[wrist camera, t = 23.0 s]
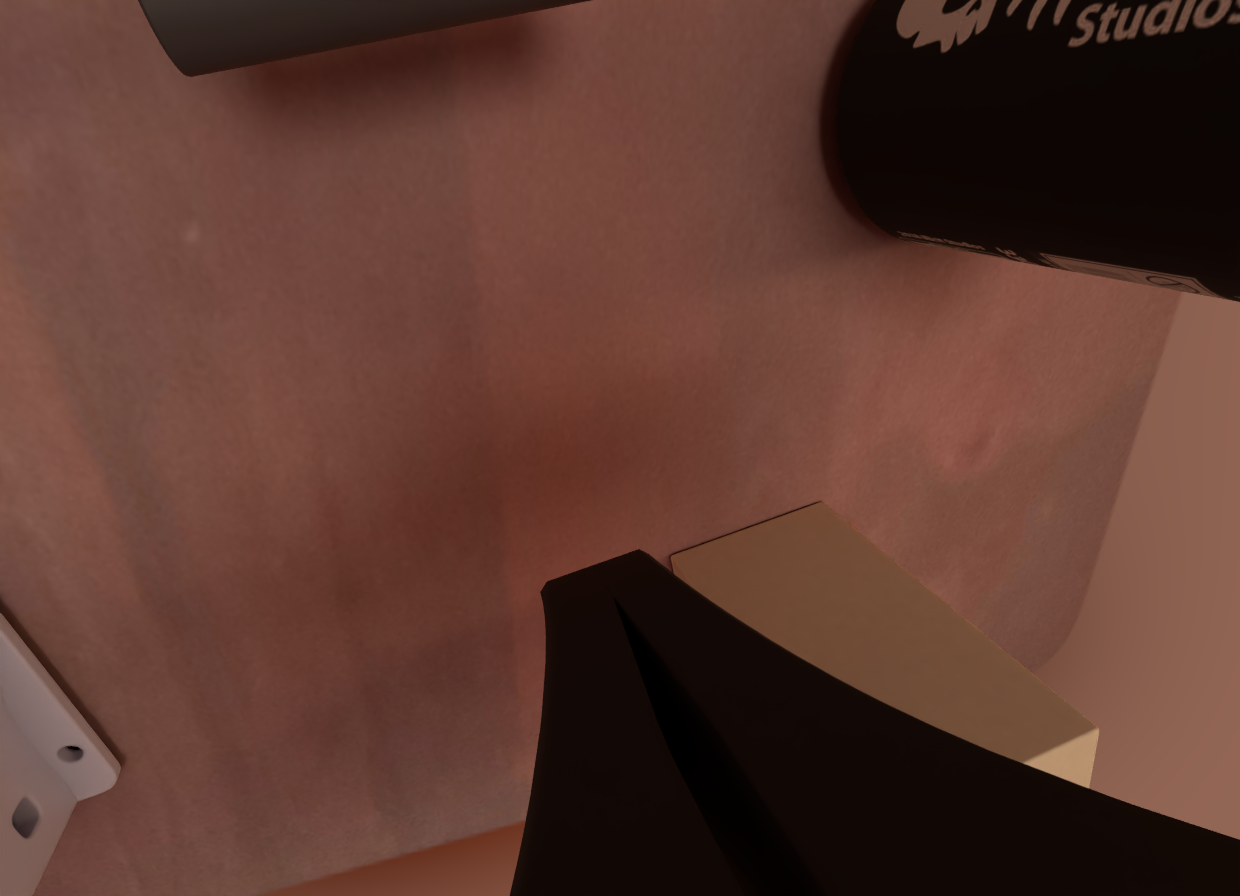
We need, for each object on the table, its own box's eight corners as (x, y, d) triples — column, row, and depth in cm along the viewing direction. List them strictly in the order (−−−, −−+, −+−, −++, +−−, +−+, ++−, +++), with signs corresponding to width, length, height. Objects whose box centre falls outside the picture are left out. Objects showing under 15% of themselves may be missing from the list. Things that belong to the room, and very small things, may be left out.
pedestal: (830, 625, 24) (1072, 886, 15) (694, 679, 23) (872, 990, 14) (822, 500, 21) (1101, 728, 13) (669, 554, 20) (865, 839, 12)
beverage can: (946, -124, 15) (2153, -713, 5) (1078, 82, 18) (1997, -5, 8) (767, 131, 16) (1442, 104, 6) (920, 286, 19) (1546, 452, 9)
